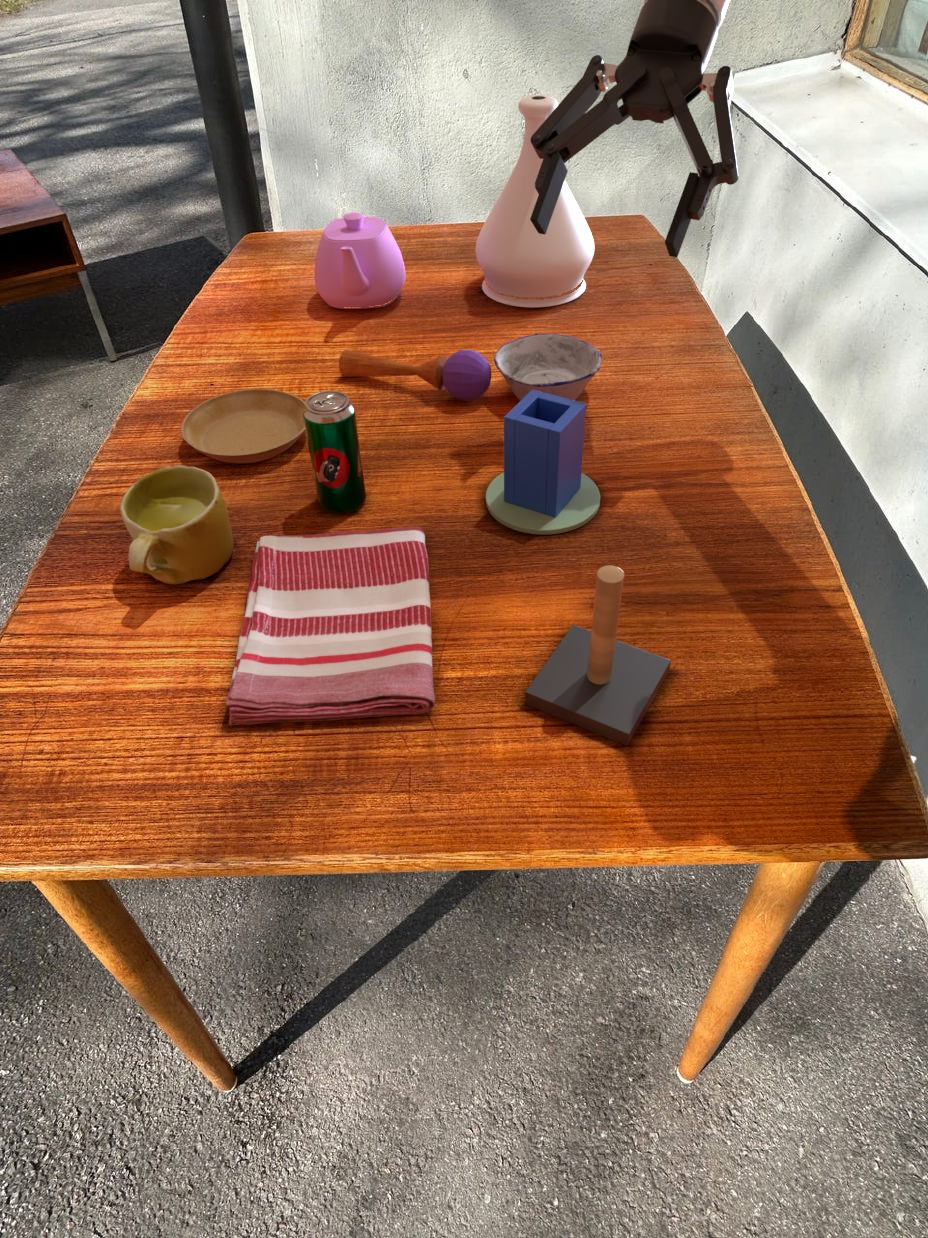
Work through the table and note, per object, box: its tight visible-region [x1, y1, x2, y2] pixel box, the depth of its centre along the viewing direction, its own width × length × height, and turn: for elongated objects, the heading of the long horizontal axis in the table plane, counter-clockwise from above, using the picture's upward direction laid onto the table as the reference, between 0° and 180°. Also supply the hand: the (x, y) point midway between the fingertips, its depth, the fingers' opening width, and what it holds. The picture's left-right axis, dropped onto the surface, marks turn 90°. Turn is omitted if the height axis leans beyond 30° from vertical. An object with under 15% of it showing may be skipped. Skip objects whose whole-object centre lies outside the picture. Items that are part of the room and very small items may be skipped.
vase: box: [474, 94, 595, 308], centre depth 123 cm, size 17×17×25 cm
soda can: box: [303, 390, 367, 515], centre depth 88 cm, size 5×5×12 cm
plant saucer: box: [180, 388, 306, 465], centre depth 101 cm, size 15×15×3 cm
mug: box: [119, 464, 235, 585], centre depth 83 cm, size 12×10×10 cm
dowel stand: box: [524, 564, 672, 747], centre depth 68 cm, size 9×9×12 cm
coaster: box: [485, 471, 601, 536], centre depth 91 cm, size 12×12×1 cm
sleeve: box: [503, 390, 588, 518], centre depth 88 cm, size 6×6×10 cm
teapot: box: [313, 211, 407, 310], centre depth 125 cm, size 20×13×12 cm, turn 0°
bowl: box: [493, 333, 603, 402], centre depth 106 cm, size 13×13×5 cm
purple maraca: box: [338, 349, 492, 402], centre depth 108 cm, size 6×6×20 cm
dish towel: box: [224, 526, 436, 726], centre depth 78 cm, size 17×23×3 cm
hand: (602, 238), depth 82 cm, fingers open, 13 cm apart
